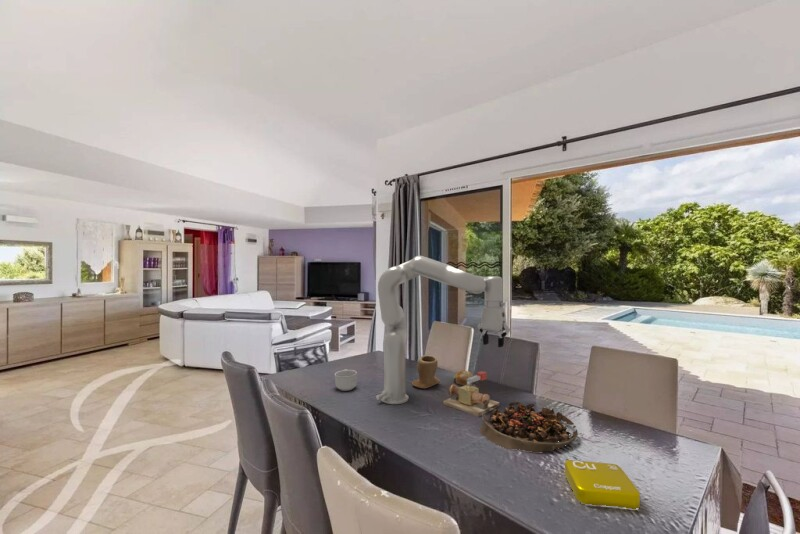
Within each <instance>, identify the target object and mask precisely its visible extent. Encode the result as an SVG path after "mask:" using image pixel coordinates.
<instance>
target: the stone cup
mask: <svg viewBox="0 0 800 534" xmlns="http://www.w3.org/2000/svg"><path fill="white" fill-rule="evenodd" d="M416 366H417V367H416V368H417V373H418V379H415V380H414V381H412V382H411V385H413V386H414V387H415V388H418V389H428V388H431V387H432V386H435V385H437V384H439V383H441V380H440V379H439V378H438V377H436V373H437V369H438V359H437V357H436V356H434V355H430V354H428V355H426V354H425V355H424V354H423V355H421V356H420V357H419V358H418V360H417V365H416Z"/></svg>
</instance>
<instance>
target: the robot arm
mask: <svg viewBox="0 0 800 534" xmlns="http://www.w3.org/2000/svg"><path fill="white" fill-rule="evenodd" d="M420 276H421V277H425V278H428V279H430V280H432V281H436V282H439V283H442V284H444V285H447V286H452V287H455V288H458V289H460V290H463V291H466V292H468V293H471V294H475V295H479V294H482V293H484V306H483V308H482V313H481V321H480V322H479V323H478V324H477V325H476V327H477V329H478V330H479V332H480V333H481V335H482V342H483V344H482V345H488V344H489V341H490V340H489V339H490V338H489V334H488V333H489V331H490V332H497V335H498V338H497V343H498V344H497V347H498V348H502V347H504V345H505V337H507V336H508V334H509V333H510V332H511V328H510V327H509V326H508V325H507V316H506V311H505V308H504V307H505V306H506V303H505V302H503V278H502V277H501V276H497V275H495V276H493V275H488V276H481V275H476V274H473V273H471V272H467V271H464V270H461V269H458V268H456V267H454V266H453V265H450V264H447V263H444V262H442V261H438V260H436V259H433V258H430V257H426V256H423V255H416V256H414V257H413V258H412V259H410V260H408V261H406V262H403V263H401V264H398V265H394V266H391V267H389V268H388V269H386V270H385V271H384V272H383V273H382V274H381V276H380V277H379V278H378V284H377V294H378V295H377V296H378V300H379V301H378V302H379V308H380V309H379V311H380V316H381V320H382V321H381V322H382V323H383V324H384V325H385V328H386V333H385V335H384V338H383V345H382V346H383V358H384V359H383V373H384V374H383V375H384V377H383V378H384V379H383V384H384V385H383V390H382V392H381V393H380V394H377V395H375V399H376V400H377V401H378V400H380V401H381V402H382V403H384V404H388V405H402V404H406V403H407V402H408V401H409V400H410V399H409V398H410V397H409V395H407V393H406V343H407V339H408V331H407V325H406V318H405V313H404V309H403V308H402V306H400V303H399V296H398V292H397V289H398V286H399V285H402V284H404V283H406V282H408V281H411V280H413V279H415V278H417V277H420Z"/></svg>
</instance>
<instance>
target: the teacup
mask: <svg viewBox="0 0 800 534" xmlns="http://www.w3.org/2000/svg"><path fill="white" fill-rule="evenodd" d="M334 382H335V387H336V388H337V389H338V390H339V391H343V392H347V391H351V390H353V389H354V388H355V387H356V386H357V384H358V372H357V371H356V370H355V369H346V368H345V369H343V370H338V371H336V372H335V373H334Z"/></svg>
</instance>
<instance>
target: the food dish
mask: <svg viewBox="0 0 800 534" xmlns="http://www.w3.org/2000/svg"><path fill="white" fill-rule="evenodd" d="M498 405H499V406H500V404H496V405H493V406H491V407H490V408H494V407H497V406H498ZM499 406H498V407H499ZM514 406H516V408H515V407H514ZM498 407H497V408H498ZM534 407H535V404H534V403H528V404H527V405H526V406H525V405H524V404H521V402H519V401H511V402H510V403H508V408H507V407H505V410H503V413H501V412H500V409H499V408H498V409H496V408H495V409H493V412H492V413H491V411H489V409H490V408H488V409H486V410H485V411H488V412H487V413H489V418H488V417H486V416H485V414H484V413H483V415H481V416H482V417H481V418H482V423H481V426H480V429H479V433H480V434H481V435H482V436H484V437H485V439H486V438H487V441H489V440H490V441H489V442H490V443H493V444H494V443H495V444H494V445H495V446H498V445H499V447H500V446H501V447H500V448H503V447H504V448H503V449H505V448H506V449H505V450H508V449H517V450H519V449H520V450H525V451H532V452H543V451H551V450H552V451H554V450H553V449H556V450H559V449H558V448H561V449H563V448H564V447H563V446H565V445H568V444H569V445H570V444H571V443H572V442H574V441H575V440H576V439H577V437H578V435H579V433H578V429H575V430H574V431H572V435H571V436H569V434H571V432H569V431H567V429H568V428H567V425H570V426H572V428H573V429H574V428H576V427H577V426H576V425H575V423H574V422H572V420H571V419H569V418H568V417H567V416H565V415H563V413H562V412H559V411H558V412H556V413H555V410H554V409H553V408H551V409H550V408H547V407H541V411H539V412H537V411H536V410H535V408H534ZM485 411H484V412H485ZM561 422H565V423H566V424H567V425H565V426H564V425H563V423H561ZM558 441H559V442H558ZM569 445H568V446H569ZM562 447H563V448H562ZM517 450H516V451H517ZM552 451H551V452H552ZM532 452H531V453H532ZM543 453H544V452H543Z"/></svg>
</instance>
